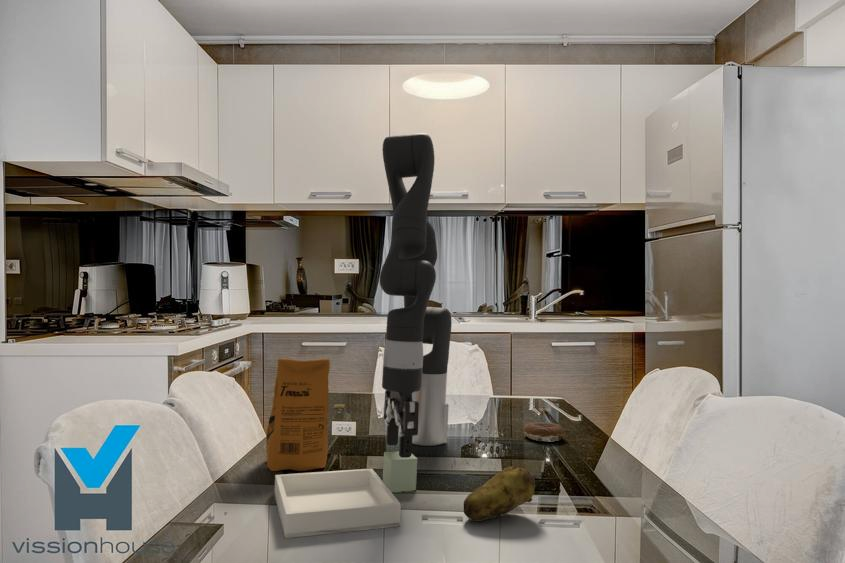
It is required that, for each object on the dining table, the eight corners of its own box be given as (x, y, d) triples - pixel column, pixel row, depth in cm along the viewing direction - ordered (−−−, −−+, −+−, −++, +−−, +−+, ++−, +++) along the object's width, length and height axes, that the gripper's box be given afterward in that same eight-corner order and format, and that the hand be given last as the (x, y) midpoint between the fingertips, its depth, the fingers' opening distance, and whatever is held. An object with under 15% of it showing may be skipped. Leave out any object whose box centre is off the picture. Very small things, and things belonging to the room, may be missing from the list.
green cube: (407, 481, 108) (408, 450, 108) (415, 490, 103) (417, 458, 103) (382, 483, 106) (384, 452, 106) (390, 493, 102) (391, 460, 102)
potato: (454, 508, 96) (456, 461, 96) (525, 506, 98) (527, 461, 98) (466, 528, 88) (468, 477, 88) (543, 526, 90) (545, 477, 90)
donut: (548, 447, 138) (548, 431, 138) (514, 437, 146) (515, 422, 146) (572, 441, 145) (573, 425, 145) (539, 432, 153) (539, 417, 153)
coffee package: (265, 457, 118) (271, 354, 119) (324, 456, 121) (329, 355, 122) (263, 473, 109) (269, 360, 109) (328, 471, 112) (333, 362, 112)
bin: (371, 487, 104) (372, 468, 104) (399, 526, 87) (400, 503, 87) (274, 494, 98) (275, 474, 98) (285, 538, 81) (286, 514, 81)
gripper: (434, 369, 100) (429, 460, 99) (410, 360, 113) (405, 440, 113) (394, 369, 97) (389, 462, 97) (374, 359, 111) (369, 441, 110)
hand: (398, 450), depth 105 cm, fingers open, 8 cm apart
